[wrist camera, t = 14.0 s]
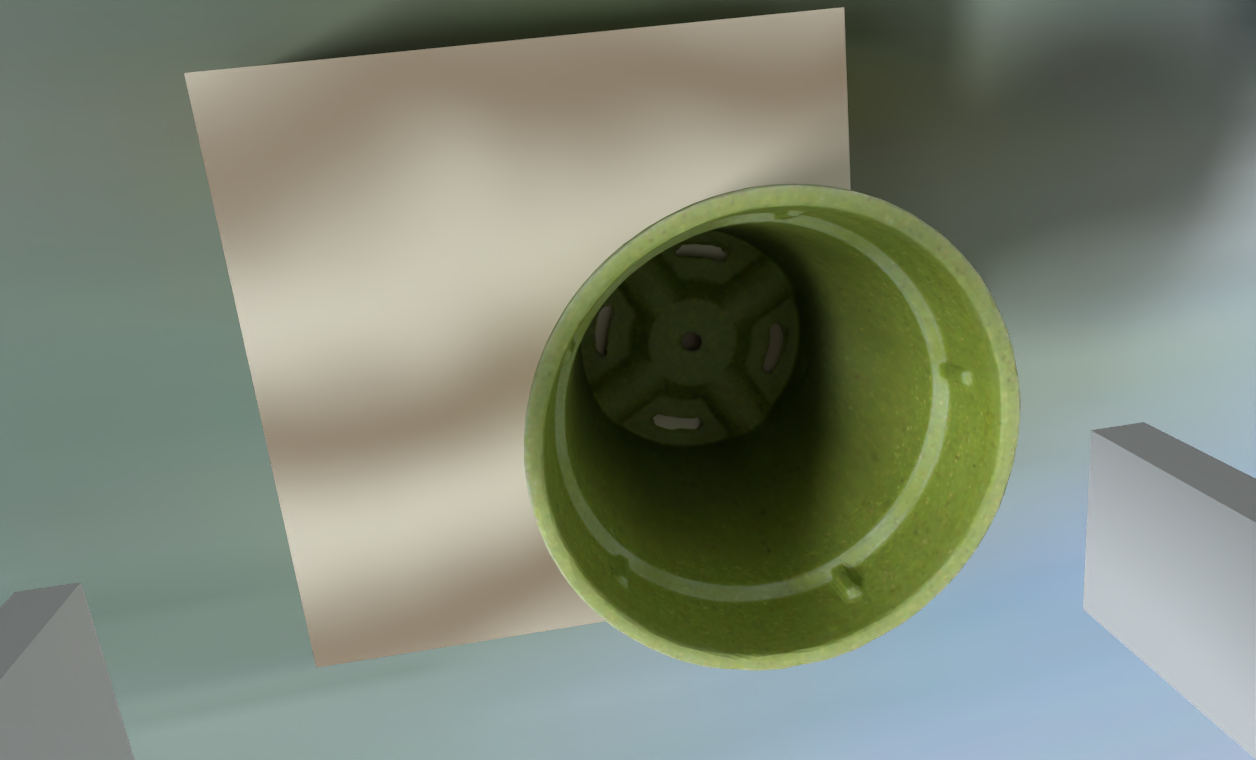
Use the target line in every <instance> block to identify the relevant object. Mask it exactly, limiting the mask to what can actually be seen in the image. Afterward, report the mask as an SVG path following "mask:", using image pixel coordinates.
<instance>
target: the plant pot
mask: <svg viewBox="0 0 1256 760" xmlns="http://www.w3.org/2000/svg"><path fill="white" fill-rule="evenodd" d="M690 244H698V245H712V246H715V247H720V248H721V249H722V251H723V252H725V253H726V259H725V260H724V261H719V260H715V259H709V258H704V257H693V256H677V254H676V251H677V250H678V249H679V248H680V247H681V246H682V245H690ZM605 306H610V307H612V308H613V310H614V312H613V316H612V318H611V323H610V327H609V331H608V338H607V347H606V351H607V354H606V355H605V356H604V357H602V356H601V354H600V353H599V352H598V350H597V344H596V336H595V332H596V324H597V319H598V315H599V312H600V311H601V310H602V308H604V307H605ZM774 323H778V324H779V326H781V329H782V332H783V344H782V348H781V352H780V357H779V360H778V362H777V364H776V365H775V367H774V369H773V370H771V371H770V372H768V373H767V372H765V371H764V369H763V365H764V362H765V358H766V355H767V352H768V348H769V343H770V328H771V326H772V325H773V324H774ZM689 333H694V334H697V335H698V336H700V337H701V346H700V347H699V348H698V349H697V350H695V351H692V350H686V349H685V348H684V347H683V345H682V338H683V337H684V336H685V335H687V334H689ZM657 414H663V415H664V416H673V417H678V418H691V419H692V418H700V419H701V420H702V422H703V423H701V424H700V426H699V427H698V428H696V429H684V428H678V429H666V428H663V427H660V426H658V425H656V424H655V423H654V419H653V417H654V416H656V415H657ZM1019 423H1020V389H1019V380H1018V374H1017V369H1016V363H1015V358H1014V352H1013V347H1012V344H1011V341H1010V338H1009V334H1008V331H1007V328H1006V326H1005V323H1004V321H1003V318H1002V316H1001V314H1000V311H999V309H998V307H997V306H996V304H995V302H994V300H993V298H992V296H991V294H990V292H989V290H988V288H987V287H986V285H985V283H984V281H983V279H982V278H981V276H980V275H979V274H978V272H977V271H976V270H975V269H974V268H973V266H972V265H971V264H970V263H969V261H968V260H967V259H966V258H965V257H964V255H963V254H962V253H961V252H960V251H959V250H958V249H957V248H956V247H955V246H954V245H953V244H952V243H951V242H950V241H949V240H948V239H947V238H945V237H944V236H943V235H942V234H941V233H940V232H938V231H937V230H936V229H934V228H933V227H931V226H930V225H928V224H927V223H925V222H924V221H923V220H921V219H920V218H918V217H916V216H915V215H913V214H912V213H910V212H908V211H906V210H904V209H902V208H900V207H898V206H896V205H893V204H891V203H889V202H887V201H884V200H882V199H879V198H876V197H873V196H870V195H867V194H864V193H860V192H856V191H853V190H849V189H843V188H838V187H832V186H825V185H814V184H773V185H764V186H756V187H749V188H744V189H740V190H735V191H731V192H727V193H724V194H720V195H717V196H713V197H710V198H707V199H705V200H702V201H699V202H696V203H693V204H691V205H689V206H686V207H684V208H682V209H680V210H678V211H676V212H674V213H672V214H670V215H668V216H666V217H664V218H662V219H660V220H659V221H657V222H655V223H654V224H652V225H650V226H648V227H647V228H645V229H644V230H643V231H641V232H640V233H638V234H637V235H636V236H634V237H633V238H631V239H630V240H629V241H627V242H626V243H624V244H623V245H622V246H621V247H620V248H618V249H617V250H616V251H615V252H614V253H613V254H612V255H610V256H609V257H608V258H607V259H606V260H605V261H604V262H603V263H602V264H601V265H600V266H599V267H598V268H597V269H596V270H595V271H594V272H593V273H592V274H591V276H590V277H589V278H588V279H587V280H586V281H585V282H584V283H583V284H582V286H581V287H580V288H579V290H578V291H577V292H576V294H575V295H574V296H573V297H572V299H571V300H570V302H569V303H568V305H567V306H566V308H565V309H564V311H563V312H562V314H561V316H560V318H559V319H558V321H557V323H556V325H555V326H554V328H553V330H552V332H551V334H550V336H549V338H548V340H547V342H546V344H545V347H544V349H543V352H542V354H541V357H540V359H539V362H538V365H537V368H536V372H535V375H534V378H533V382H532V386H531V389H530V394H529V399H528V405H527V410H526V420H525V430H524V467H525V477H526V482H527V489H528V494H529V498H530V502H531V506H532V509H533V513H534V516H535V519H536V522H537V525H538V528H539V530H540V533H541V535H542V537H543V540H544V542H545V545H546V547H547V549H548V551H549V553H550V555H551V557H552V558H553V560H554V562H555V564H556V565H557V567H558V568H559V570H560V572H561V574H562V575H563V576H564V578H565V579H566V580H567V582H568V583H569V584H570V586H571V587H572V588H573V589H574V591H575V592H576V593H577V594H578V595H579V597H580V598H581V599H582V600H583V601H584V602H585V603H586V604H587V605H588V606H589V607H590V608H591V609H592V610H593V611H594V612H596V613H597V614H598V615H599V616H600V617H601V618H603V619H604V620H605V621H606V622H608V623H609V624H610V625H611V626H613V627H614V628H616V629H617V630H619V631H621V632H622V633H624V634H625V635H627V636H629V637H630V638H632V639H634V640H636V641H638V642H639V643H641V644H643V645H645V646H647V647H649V648H651V649H653V650H655V651H658V652H660V653H662V654H665V655H667V656H669V657H672V658H675V659H678V660H681V661H684V662H688V663H693V664H696V665H700V666H706V667H713V668H722V669H743V670H753V671H758V670H772V669H784V668H788V667H793V666H797V665H801V664H809V663H814V662H819V661H823V660H827V659H831V658H833V657H836V656H839V655H842V654H844V653H847V652H850V651H853V650H855V649H857V648H859V647H861V646H863V645H865V644H867V643H869V642H870V641H872V640H874V639H876V638H878V637H880V636H882V635H884V634H885V633H887V632H888V631H890V630H892V629H894V628H896V627H897V626H899V625H901V624H902V623H904V622H905V621H907V620H908V619H909V618H911V617H912V616H913V615H915V614H916V613H917V612H918V611H920V610H921V609H922V608H923V607H925V606H926V605H927V604H928V603H929V602H930V601H931V600H932V599H933V598H934V597H935V596H937V595H938V594H939V593H940V592H941V591H942V590H943V589H944V588H945V587H946V586H947V585H948V584H949V583H950V582H951V581H952V580H953V579H954V578H955V577H956V575H957V574H958V573H959V572H960V570H961V569H962V568H963V566H964V565H965V563H966V562H967V561H968V560H969V559H970V557H971V556H972V555H973V553H974V552H975V550H976V549H977V547H978V546H979V544H980V542H981V541H982V539H983V537H984V536H985V534H986V532H987V530H988V529H989V527H990V525H991V523H992V521H993V519H994V517H995V515H996V512H997V511H998V509H999V507H1000V504H1001V501H1002V498H1003V496H1004V494H1005V490H1006V486H1007V483H1008V479H1009V476H1010V474H1011V470H1012V466H1013V462H1014V458H1015V452H1016V447H1017V441H1018V435H1019Z"/></svg>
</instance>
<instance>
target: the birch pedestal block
mask: <svg viewBox="0 0 1256 760" xmlns="http://www.w3.org/2000/svg"><path fill="white" fill-rule="evenodd" d="M184 75H185V79H186V84H187V88H188V93H189V97H190V101H191V106H192V110H193V115H194V119H195V124H196V128H197V133H198V137H199V142H200V146H201V151H202V155H203V160H204V164H205V169H206V173H207V178H208V182H209V187H210V191H211V196H212V200H213V205H214V209H215V214H216V218H217V223H218V227H219V232H220V236H221V241H222V245H223V250H224V254H225V259H226V263H227V268H228V272H229V277H230V281H231V286H232V290H233V295H234V299H235V304H236V308H237V313H238V317H239V322H240V326H241V331H242V335H243V340H244V344H245V349H246V353H247V358H248V362H249V367H250V371H251V376H252V380H253V385H254V389H255V394H256V398H257V403H258V407H259V412H260V416H261V421H262V425H263V430H264V434H265V439H266V443H267V448H268V452H269V457H270V461H271V466H272V470H273V475H274V479H275V484H276V488H277V493H278V497H279V502H280V506H281V511H282V515H283V520H284V524H285V528H286V533H287V537H288V542H289V546H290V551H291V555H292V560H293V564H294V569H295V573H296V578H297V582H298V587H299V591H300V596H301V600H302V605H303V609H304V614H305V618H306V623H307V627H308V632H309V636H310V641H311V645H312V650H313V654H314V659H315V663H316V667H323V666H329V665H335V664H341V663H348V662H354V661H360V660H366V659H373V658H379V657H385V656H391V655H398V654H404V653H410V652H416V651H423V650H429V649H435V648H441V647H448V646H454V645H460V644H466V643H473V642H479V641H485V640H491V639H498V638H504V637H510V636H516V635H523V634H529V633H535V632H541V631H548V630H554V629H560V628H566V627H573V626H579V625H585V624H591V623H598V622H604V621H605V620H604V619H603V618H601V617H600V616H599V615H598V614H597V613H596V612H594V611H593V610H592V609H591V608H590V607H589V606H588V605H587V604H586V603H585V602H584V601H583V600H582V599H581V598H580V597H579V595H578V594H577V593H576V592H575V591H574V589H573V588H572V587H571V586H570V584H569V583H568V582H567V580H566V579H565V578H564V576H563V575H562V574H561V572H560V570H559V568H558V567H557V565H556V564H555V562H554V560H553V558H552V557H551V555H550V553H549V551H548V549H547V547H546V545H545V542H544V540H543V537H542V535H541V533H540V530H539V528H538V525H537V522H536V519H535V516H534V513H533V509H532V506H531V502H530V498H529V494H528V489H527V482H526V477H525V467H524V430H525V420H526V410H527V405H528V399H529V394H530V389H531V386H532V382H533V378H534V375H535V372H536V368H537V365H538V362H539V359H540V357H541V354H542V352H543V349H544V347H545V344H546V342H547V340H548V338H549V336H550V334H551V332H552V330H553V328H554V326H555V325H556V323H557V321H558V319H559V318H560V316H561V314H562V312H563V311H564V309H565V308H566V306H567V305H568V303H569V302H570V300H571V299H572V297H573V296H574V295H575V294H576V292H577V291H578V290H579V288H580V287H581V286H582V284H583V283H584V282H585V281H586V280H587V279H588V278H589V277H590V276H591V274H592V273H593V272H594V271H595V270H596V269H597V268H598V267H599V266H600V265H601V264H602V263H603V262H604V261H605V260H606V259H607V258H608V257H609V256H610V255H612V254H613V253H614V252H615V251H616V250H617V249H618V248H620V247H621V246H622V245H623V244H624V243H626V242H627V241H629V240H630V239H631V238H633V237H634V236H636V235H637V234H638V233H640V232H641V231H643V230H644V229H645V228H647V227H648V226H650V225H652V224H654V223H655V222H657V221H659V220H660V219H662V218H664V217H666V216H668V215H670V214H672V213H674V212H676V211H678V210H680V209H682V208H684V207H686V206H689V205H691V204H693V203H696V202H699V201H702V200H705V199H707V198H710V197H713V196H717V195H720V194H724V193H727V192H731V191H735V190H740V189H744V188H749V187H756V186H764V185H773V184H814V185H825V186H832V187H838V188H843V189H849V190H851V183H850V155H849V127H848V99H847V70H846V42H845V14H844V7H841V8H831V9H821V10H811V11H801V12H791V13H781V14H771V15H761V16H751V17H741V18H731V19H721V20H711V21H701V22H691V23H681V24H671V25H661V26H651V27H641V28H631V29H621V30H611V31H601V32H591V33H581V34H571V35H561V36H551V37H541V38H531V39H521V40H511V41H501V42H491V43H481V44H471V45H461V46H451V47H441V48H431V49H421V50H411V51H401V52H391V53H381V54H371V55H361V56H351V57H341V58H331V59H321V60H311V61H301V62H291V63H281V64H271V65H261V66H251V67H241V68H231V69H221V70H211V71H201V72H191V73H184ZM676 254H677V256H693V257H704V258H709V259H715V260H719V261H724V260H725V259H726V253H725V252H723V251H722V249H721V248H720V247H715V246H712V245H698V244H690V245H682V246H681V247H680V248H679V249H678V250H677V251H676ZM613 312H614V310H613V308H612V307H610V306H605V307H604V308H602V310H601V311H600V312H599V315H598V319H597V324H596V332H595V336H596V344H597V350H598V352H599V353H600V354H601V356H602V357H604V356H605V355H606V354H607V351H606V347H607V338H608V331H609V327H610V323H611V318H612V316H613ZM782 344H783V332H782V329H781V326H779V324H778V323H774V324H773V325H772V326H771V328H770V343H769V348H768V352H767V355H766V358H765V362H764V365H763V369H764V371H765V372H767V373H768V372H770V371H771V370H773V369H774V367H775V365H776V364H777V362H778V360H779V357H780V352H781V348H782ZM682 345H683V347H684V348H685V349H686V350H692V351H695V350H697V349H698V348H699V347H700V346H701V337H700V336H698V335H697V334H694V333H689V334H687V335H685V336H684V337H683V338H682ZM653 419H654V423H655V424H656V425H658V426H660V427H663V428H666V429H678V428H684V429H696V428H698V427H699V426H700V424H701V423H703V422H702V420H701V419H700V418H692V419H691V418H678V417H673V416H664V415H663V414H657V415H656V416H654V417H653Z"/></svg>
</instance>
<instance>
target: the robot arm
mask: <svg viewBox="0 0 1256 760" xmlns="http://www.w3.org/2000/svg"><path fill="white" fill-rule="evenodd" d="M1083 609H1084V610H1085V611H1086V612H1087V613H1088V614H1089V615H1091V616H1092V617H1093V618H1094V619H1095V620H1096V621H1097V622H1099V623H1100V624H1101V625H1102V626H1103V627H1104V628H1105V629H1107V630H1108V631H1109V632H1110V633H1111V634H1112V635H1114V636H1115V637H1116V638H1117V639H1118V640H1119V641H1120V642H1122V643H1123V644H1124V645H1125V646H1126V647H1127V648H1128V649H1130V650H1131V651H1132V652H1133V653H1134V654H1135V655H1137V656H1138V657H1139V658H1140V659H1141V660H1142V661H1143V662H1145V663H1146V664H1147V665H1148V666H1149V667H1150V668H1151V669H1153V670H1154V671H1155V672H1156V673H1157V674H1158V675H1160V676H1161V677H1162V678H1163V679H1164V680H1165V681H1166V682H1168V683H1169V684H1170V685H1171V686H1172V687H1173V688H1174V689H1176V690H1177V691H1178V692H1179V693H1180V694H1181V695H1183V696H1184V697H1185V698H1186V699H1187V700H1188V701H1189V702H1191V703H1192V704H1193V705H1194V706H1195V707H1196V708H1197V709H1199V710H1200V711H1201V712H1202V713H1203V714H1204V715H1206V716H1207V717H1208V718H1209V719H1210V720H1211V721H1212V722H1214V723H1215V724H1216V725H1217V726H1218V727H1219V728H1220V729H1222V730H1223V731H1224V732H1225V733H1226V734H1227V735H1229V736H1230V737H1231V738H1232V739H1233V740H1234V741H1235V742H1237V743H1238V744H1239V745H1240V746H1241V747H1242V748H1243V749H1245V750H1246V751H1247V752H1248V753H1249V754H1250V755H1252V756H1253V757H1254V758H1255V759H1256V479H1255V478H1253V477H1251V476H1249V475H1247V474H1245V473H1243V472H1241V471H1239V470H1237V469H1235V468H1233V467H1231V466H1229V465H1227V464H1225V463H1224V462H1222V461H1220V460H1218V459H1216V458H1214V457H1212V456H1210V455H1208V454H1206V453H1204V452H1202V451H1200V450H1198V449H1196V448H1194V447H1192V446H1190V445H1188V444H1186V443H1184V442H1182V441H1180V440H1178V439H1176V438H1174V437H1172V436H1170V435H1168V434H1166V433H1164V432H1162V431H1160V430H1158V429H1156V428H1154V427H1152V426H1150V425H1148V424H1146V423H1144V422H1143V423H1136V424H1130V425H1123V426H1116V427H1110V428H1103V429H1096V430H1091V449H1090V470H1089V492H1088V514H1087V536H1086V557H1085V579H1084V601H1083ZM0 760H135V759H134V756H133V753H132V750H131V746H130V743H129V740H128V736H127V733H126V730H125V726H124V723H123V720H122V716H121V713H120V710H119V706H118V703H117V700H116V697H115V693H114V690H113V687H112V683H111V680H110V677H109V673H108V670H107V667H106V663H105V660H104V657H103V653H102V650H101V647H100V644H99V640H98V637H97V634H96V630H95V627H94V624H93V620H92V617H91V614H90V610H89V607H88V604H87V600H86V597H85V594H84V591H83V587H82V584H81V582H79V583H73V584H66V585H59V586H53V587H46V588H39V589H33V590H26V591H20V592H15V593H14V594H13V595H12V596H11V597H10V598H9V599H8V600H7V601H6V602H5V603H4V604H3V605H2V606H1V607H0Z"/></svg>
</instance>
